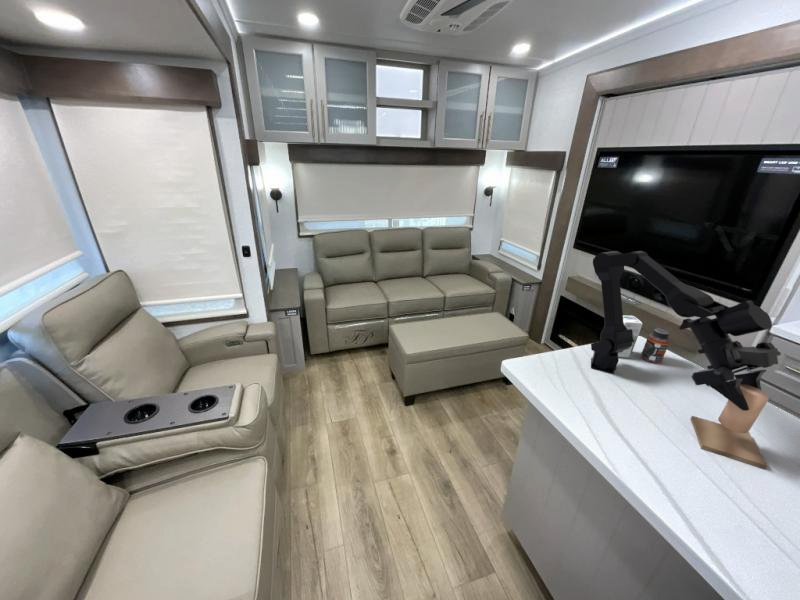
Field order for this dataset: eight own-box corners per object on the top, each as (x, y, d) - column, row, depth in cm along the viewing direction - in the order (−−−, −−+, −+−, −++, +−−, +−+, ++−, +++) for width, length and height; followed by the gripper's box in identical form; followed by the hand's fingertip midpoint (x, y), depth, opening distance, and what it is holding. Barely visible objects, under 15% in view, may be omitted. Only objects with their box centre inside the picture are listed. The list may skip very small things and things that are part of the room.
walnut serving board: (700, 448, 75) (702, 444, 74) (690, 419, 83) (692, 415, 83) (765, 469, 69) (767, 465, 69) (746, 435, 78) (748, 432, 78)
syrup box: (621, 349, 115) (633, 314, 109) (630, 358, 109) (643, 322, 103) (605, 348, 115) (615, 314, 109) (613, 357, 110) (625, 321, 104)
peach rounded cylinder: (730, 432, 72) (749, 398, 68) (712, 415, 77) (729, 383, 72) (755, 434, 71) (776, 400, 67) (735, 417, 76) (754, 385, 72)
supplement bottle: (655, 365, 105) (667, 337, 101) (636, 357, 110) (647, 329, 106) (665, 361, 108) (676, 332, 103) (646, 352, 113) (656, 325, 108)
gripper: (730, 339, 65) (777, 416, 60) (780, 325, 71) (827, 394, 66) (675, 351, 75) (711, 418, 70) (723, 338, 81) (760, 399, 76)
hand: (753, 407), depth 70 cm, fingers closed on peach rounded cylinder, 5 cm apart
